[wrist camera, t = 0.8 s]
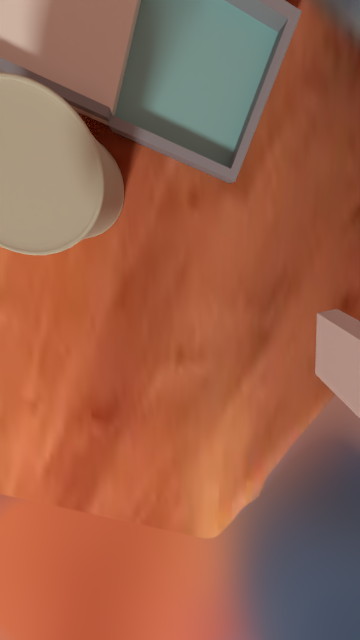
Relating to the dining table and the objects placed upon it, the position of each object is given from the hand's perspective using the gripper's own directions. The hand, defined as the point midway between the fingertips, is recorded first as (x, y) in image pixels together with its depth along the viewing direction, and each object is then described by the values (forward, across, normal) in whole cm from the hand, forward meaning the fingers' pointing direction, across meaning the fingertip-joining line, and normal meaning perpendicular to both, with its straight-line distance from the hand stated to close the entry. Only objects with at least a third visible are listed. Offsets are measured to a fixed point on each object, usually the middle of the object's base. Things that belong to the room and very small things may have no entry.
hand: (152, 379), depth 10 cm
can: (+21, -5, +9) cm, 24 cm away
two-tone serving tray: (+21, +1, +19) cm, 28 cm away
